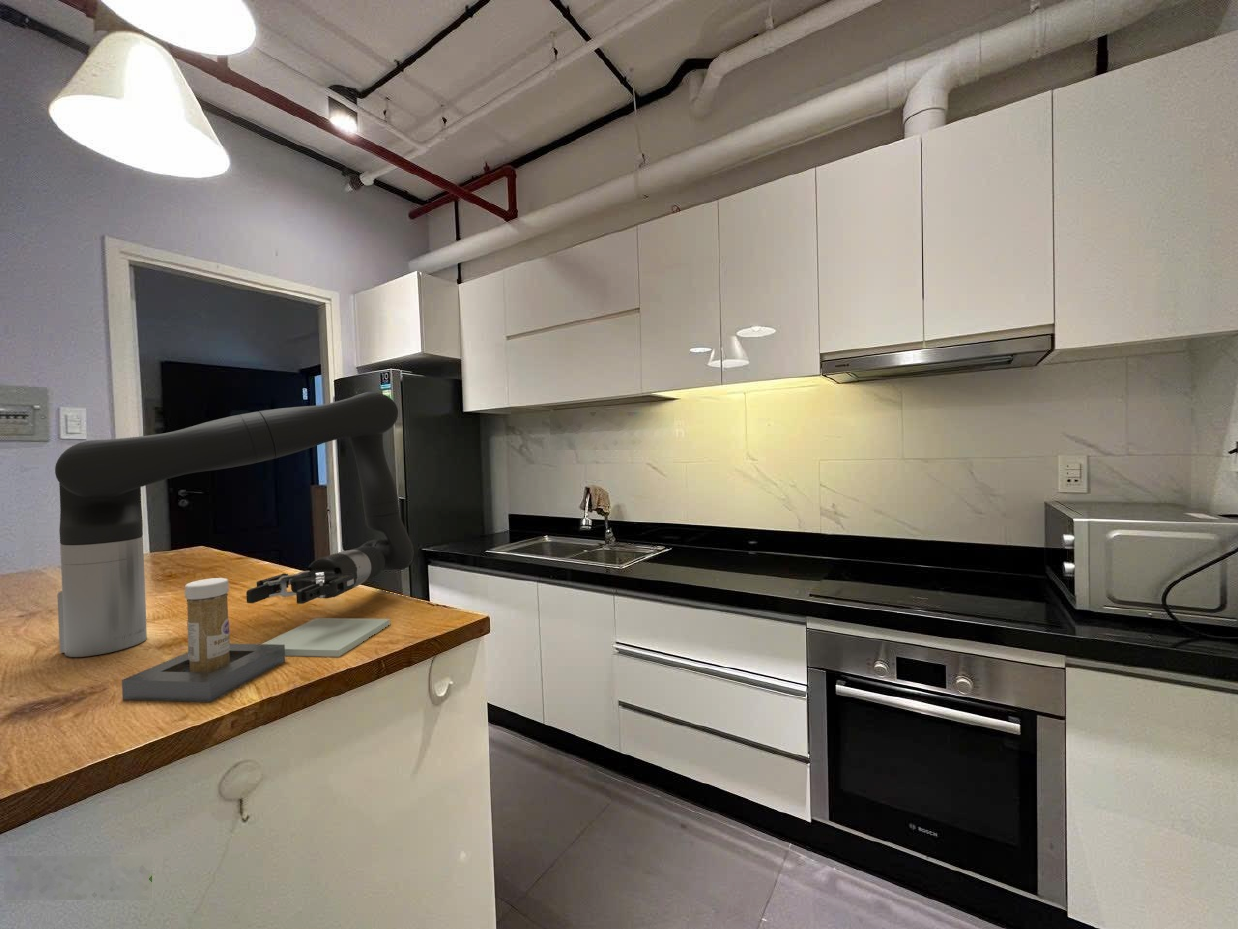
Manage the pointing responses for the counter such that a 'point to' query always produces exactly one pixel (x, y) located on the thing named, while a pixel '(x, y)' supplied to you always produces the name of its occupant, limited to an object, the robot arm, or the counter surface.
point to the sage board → (328, 636)
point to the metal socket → (202, 675)
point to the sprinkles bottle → (208, 624)
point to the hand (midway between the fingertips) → (273, 597)
